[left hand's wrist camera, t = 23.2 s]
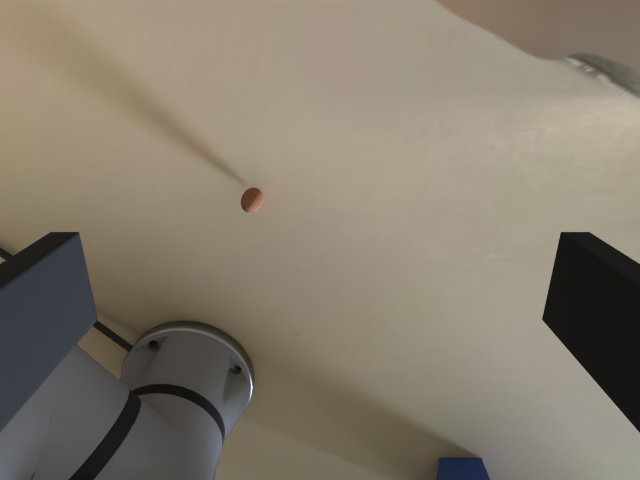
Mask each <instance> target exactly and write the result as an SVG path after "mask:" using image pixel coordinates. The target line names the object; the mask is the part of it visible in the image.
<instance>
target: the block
mask: <svg viewBox="0 0 640 480" xmlns="http://www.w3.org/2000/svg"><path fill="white" fill-rule="evenodd" d="M437 480H490V478H489V476H488V474H487V471H486V469H485V466H484V464H483V461H482V459H481V458H440V460H439V467H438V475H437Z"/></svg>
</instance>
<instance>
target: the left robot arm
mask: <svg viewBox="0 0 640 480" xmlns="http://www.w3.org/2000/svg"><path fill="white" fill-rule="evenodd" d="M0 257H2V258H3V259H5V260H6V261H4V262H3V263H1V264H0V480H214V479H215V475H216V471H217V467H218V463H219V459H220V455H221V451H222V447H223V443H224V439H225V438H226V436H227V435H228V434H229V432H230V431H231V430H232V428H233V427H234V425H235V424H236V423H237V421H238V420H239V419H240V417H241V416H242V415H243V413H244V412H245V410H246V409H247V407H248V405H249V402H250V399H251V395H252V390H253V385H254V372H253V367H252V364H251V361H250V359H249V357H248V355H247V354H246V352H245V351H244V349H243V348H242V347H241V346H240V344H239V343H237V342H236V341H235V340H234V339H233V338H232V337H231V336H229V335H228V334H226V333H224V332H223V331H221V330H219V329H217V328H214V327H212V326H209V325H206V324H202V323H197V322H189V321H179V322H171V323H166V324H162V325H159V326H157V327H155V328H153V329H151V330H149V331H147V332H146V333H145V334H143V335H142V336H141V337H140V338H139V339H138V340H137V341H136V343H135V344H134V345H133V346H132V345H130V344H129V343H128V342H126V341H125V340H123V339H122V338H121V337H119V336H118V335H116V334H115V333H114V332H112V331H111V330H110V329H108V328H107V327H105V326H104V325H103V324H101V323H100V322H99V321H97V320H98V318H97V314H96V309H95V304H94V300H93V295H92V290H91V286H90V281H89V276H88V272H87V267H86V263H85V258H84V253H83V249H82V244H81V239H80V235H79V232H50V233H49V234H47V235H46V236H44V237H42V238H41V239H39V240H38V241H36V242H35V243H33V244H31V245H30V246H28V247H27V248H25V249H23V250H22V251H20V252H19V253H17V254H16V255H14V256H12V255H10V254H9V253H7V252H6V251H4V250H3V249H1V248H0ZM542 320H543V321H544V322H545V323H546V324H547V326H548V327H549V328H550V329H551V330H552V331H553V333H554V334H555V335H556V336H557V337H558V338H559V340H560V341H561V342H562V343H563V344H564V345H565V346H566V348H567V349H568V350H569V351H570V352H571V353H572V355H573V356H574V357H575V358H576V359H577V360H578V362H579V363H580V364H581V365H582V366H583V367H584V368H585V370H586V371H587V372H588V373H589V374H590V375H591V377H592V378H593V379H594V380H595V381H596V382H597V384H598V385H599V386H600V387H601V388H602V389H603V390H604V392H605V393H606V394H607V395H608V396H609V397H610V399H611V400H612V401H613V402H614V403H615V404H616V406H617V407H618V408H619V409H620V410H621V411H622V412H623V414H624V415H625V416H626V417H627V418H628V419H629V421H630V422H631V423H632V424H633V425H634V426H635V428H636V429H637V430H638V431H639V432H640V264H639V263H637V262H636V261H634V260H632V259H631V258H629V257H628V256H626V255H624V254H623V253H621V252H620V251H618V250H617V249H615V248H613V247H612V246H610V245H609V244H607V243H605V242H604V241H602V240H601V239H599V238H598V237H596V236H594V235H593V234H591V233H590V232H561V235H560V239H559V244H558V249H557V253H556V258H555V263H554V267H553V272H552V276H551V281H550V286H549V290H548V295H547V300H546V304H545V309H544V314H543V318H542ZM92 326H94V327H95V328H97V329H98V330H99V331H101V332H102V333H103V334H105V335H106V336H108V337H109V338H110V339H112V340H113V341H115V342H116V343H117V344H119V345H120V346H121V347H123V348H124V349H126V350H127V351H128V352H129V353H128V355H127V356H126V358H125V360H124V362H123V365H122V370H121V378H120V381H119V380H118V379H117V378H116V377H115V376H113V375H112V374H111V373H110V372H109V371H107V370H106V369H105V368H104V367H103V366H101V365H100V364H99V363H98V362H97V361H96V360H94V359H93V358H92V357H91V356H90V355H89V354H87V353H86V352H85V351H84V350H83V349H82V348H80V347H79V346H78V345H77V343H78V342H79V341H80V340H81V338H82V337H83V336H84V335H85V334H86V333H87V331H88V330H89V329H90V328H91V327H92Z"/></svg>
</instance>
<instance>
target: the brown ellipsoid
mask: <svg viewBox="0 0 640 480" xmlns="http://www.w3.org/2000/svg"><path fill="white" fill-rule="evenodd" d="M262 203H263V194H262V192H261V191H260V190H259V189H257V188H250V189H248V190H247V191H246V192H245V193H244V194H243V196H242V199H241V206H242V208H243V210H244V211H246V212H248V213H253V212H255V211H257V210H258V209H259V208H260V207H261V205H262Z"/></svg>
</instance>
